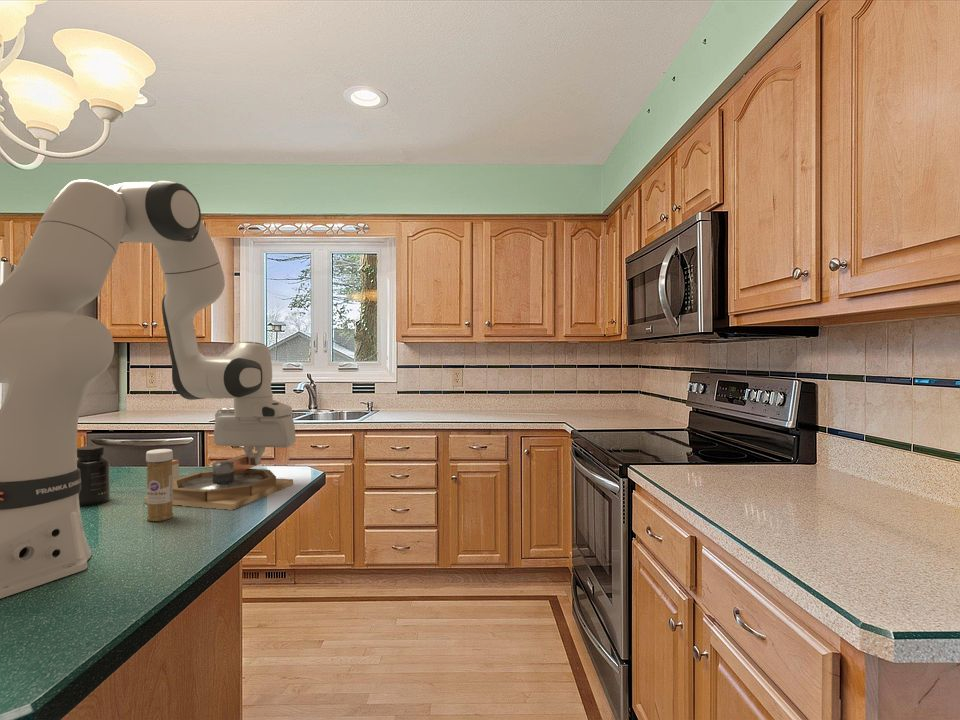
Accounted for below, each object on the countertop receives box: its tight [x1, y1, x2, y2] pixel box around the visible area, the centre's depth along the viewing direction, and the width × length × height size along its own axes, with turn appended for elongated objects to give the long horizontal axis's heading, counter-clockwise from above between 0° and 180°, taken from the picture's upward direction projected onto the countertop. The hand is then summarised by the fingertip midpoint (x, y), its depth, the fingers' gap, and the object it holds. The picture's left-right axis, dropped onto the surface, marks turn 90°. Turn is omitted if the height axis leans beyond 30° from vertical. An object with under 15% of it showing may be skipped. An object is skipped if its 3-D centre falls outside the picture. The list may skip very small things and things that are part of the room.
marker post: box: [172, 459, 180, 480], centre depth 130 cm, size 2×2×7 cm
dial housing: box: [143, 468, 294, 511], centre depth 127 cm, size 22×22×3 cm
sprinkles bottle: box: [145, 448, 174, 522], centre depth 108 cm, size 5×5×14 cm
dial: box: [181, 452, 263, 490], centre depth 128 cm, size 21×17×6 cm
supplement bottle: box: [77, 445, 111, 507], centre depth 119 cm, size 7×7×12 cm
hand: (254, 464), depth 135 cm, fingers closed
